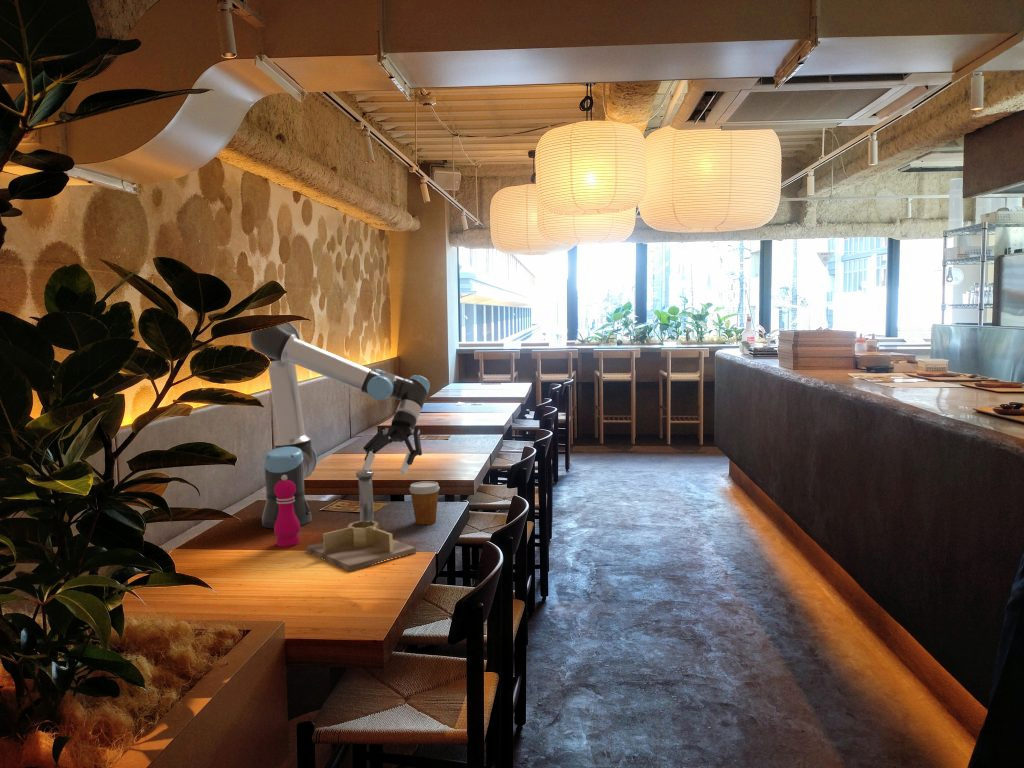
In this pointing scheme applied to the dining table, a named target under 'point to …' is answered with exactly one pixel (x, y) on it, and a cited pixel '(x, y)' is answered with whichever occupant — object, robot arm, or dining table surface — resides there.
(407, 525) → the dining table surface
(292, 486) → the pepper mill
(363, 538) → the beige ribbed socket
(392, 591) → the dining table surface
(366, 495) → the pin
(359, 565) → the mounting board
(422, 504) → the disposable coffee cup
